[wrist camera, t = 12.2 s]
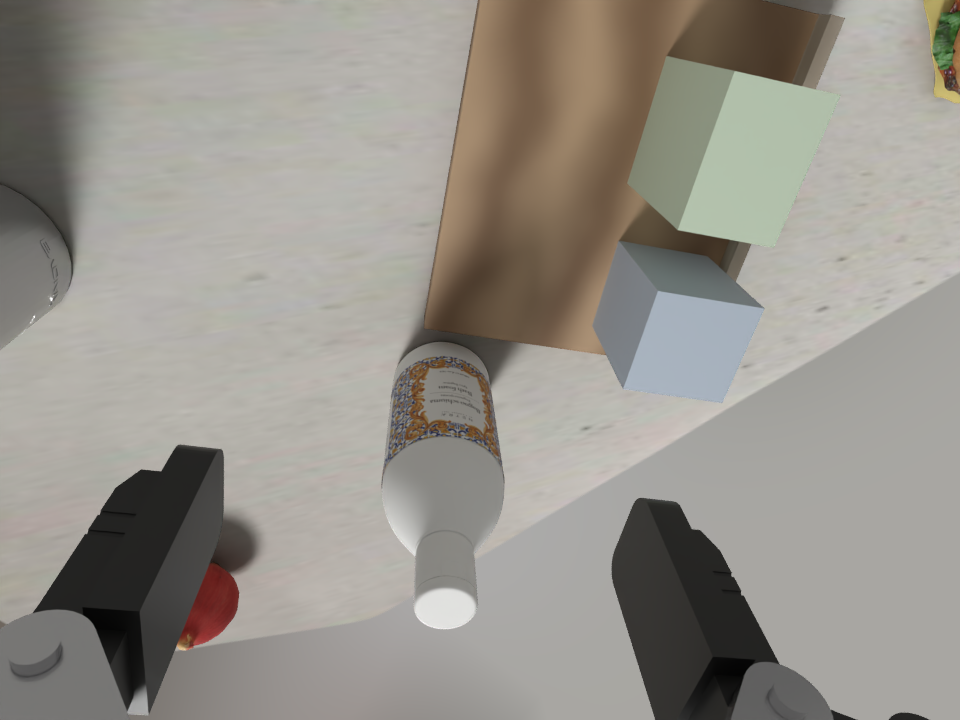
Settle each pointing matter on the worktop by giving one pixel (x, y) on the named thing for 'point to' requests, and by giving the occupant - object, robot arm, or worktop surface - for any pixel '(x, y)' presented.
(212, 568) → the onion
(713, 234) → the tea box
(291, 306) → the worktop surface
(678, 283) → the box
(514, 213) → the wooden slab
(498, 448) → the bath foam
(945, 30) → the hamburger
